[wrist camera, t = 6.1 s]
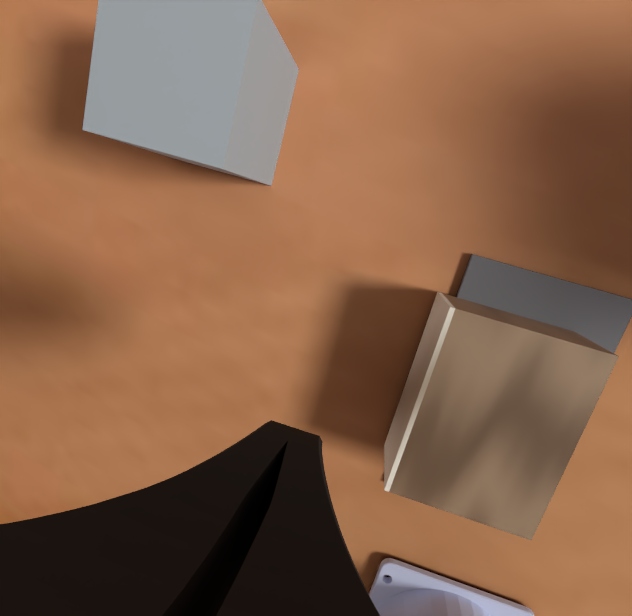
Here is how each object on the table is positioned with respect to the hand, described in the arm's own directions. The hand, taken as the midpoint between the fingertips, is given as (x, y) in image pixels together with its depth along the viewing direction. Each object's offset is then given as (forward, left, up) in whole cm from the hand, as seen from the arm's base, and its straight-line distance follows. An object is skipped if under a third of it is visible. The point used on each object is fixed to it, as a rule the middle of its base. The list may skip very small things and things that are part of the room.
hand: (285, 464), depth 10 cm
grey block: (+9, +7, -10) cm, 16 cm away
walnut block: (0, -4, -8) cm, 9 cm away
